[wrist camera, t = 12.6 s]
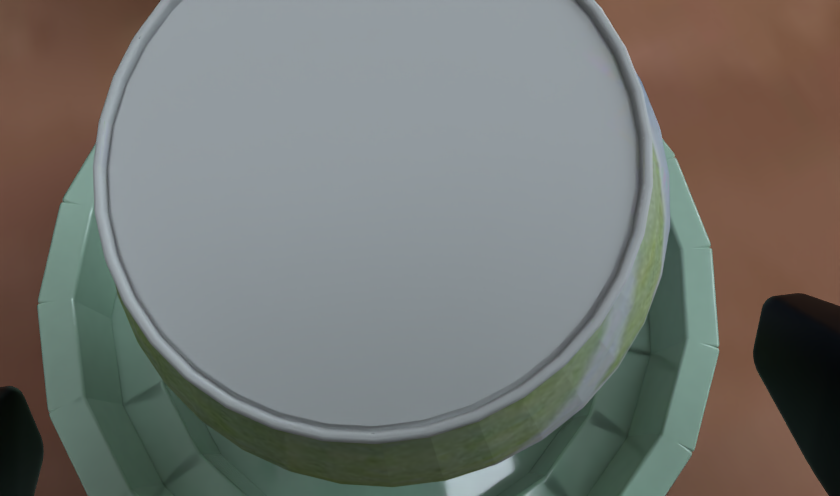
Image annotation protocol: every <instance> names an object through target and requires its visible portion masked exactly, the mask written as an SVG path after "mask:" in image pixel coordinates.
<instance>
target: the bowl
mask: <svg viewBox="0 0 840 496" xmlns="http://www.w3.org/2000/svg"><path fill="white" fill-rule="evenodd" d="M662 141H663V146H664V151H665V156H666V161H667V166H668V171H669V180H670V230H669V236H668V242H667V248H666V254H665V260H664V266H663V272H662V276H661V279H660V282H659V285H658V287H657V290H656V293H655V296H654V298H653V301H652V304H651V306H650V309H649V312H648V315H647V317H646V320H645V323H644V325H643V326H642V328H641V330H640V331H639V333H638V335H637V337H636V338H635V340H634V342H633V343H632V345H631V347H630V348H629V350H628V352H627V353H626V355H625V357H624V358H623V360H622V362H621V364H620V365H619V367H618V369H617V370H616V371H615V372H614V373H613V374H612V375H611V377H610V378H609V379H608V380H607V381H606V382H605V383H604V385H603V386H602V387H601V388H600V389H599V390H598V391H597V393H596V394H595V395H594V396H593V397H592V398H591V399H590V401H589V402H588V403H587V404H586V405H585V406H584V407H583V408H582V409H581V410H580V411H578V412H577V413H576V414H575V415H573V416H572V417H571V418H570V419H568V420H567V421H566V422H565V423H563V424H562V425H561V426H560V427H558V428H557V429H556V430H554V431H553V432H552V433H551V434H549V435H548V436H547V437H546V438H544V439H543V440H542V441H540V442H538V443H536V444H534V445H532V446H530V447H528V448H527V449H525V450H523V451H521V452H519V453H517V454H515V455H513V456H511V457H510V458H508V459H506V460H504V461H502V462H500V463H498V464H496V465H494V466H490V467H487V468H484V469H481V470H478V471H475V472H471V473H468V474H465V475H462V476H459V477H456V478H452V479H449V480H446V481H439V482H431V483H423V484H415V485H407V486H399V487H382V486H365V485H348V484H339V483H335V482H331V481H327V480H323V479H319V478H315V477H311V476H307V475H302V474H298V473H294V472H290V471H288V470H286V469H283V468H281V467H279V466H277V465H275V464H272V463H270V462H268V461H266V460H264V459H262V458H259V457H257V456H255V455H253V454H251V453H248V452H246V451H244V450H242V449H241V448H239V447H238V446H236V445H235V444H234V443H232V442H231V441H229V440H228V439H226V438H225V437H224V436H222V435H221V434H219V433H218V432H217V431H215V430H214V429H212V428H211V427H209V426H208V425H207V424H205V423H204V422H202V421H201V420H200V419H199V418H198V417H197V416H196V415H195V414H194V413H193V412H192V411H191V410H190V409H189V408H188V407H187V406H186V405H185V404H184V403H183V402H182V400H181V399H180V398H179V397H178V396H177V395H176V394H175V393H174V392H173V391H172V390H171V389H170V388H169V387H168V386H167V385H166V384H165V383H164V381H163V380H162V378H161V377H160V375H159V374H158V372H157V371H156V369H155V368H154V366H153V365H152V363H151V362H150V360H149V359H148V357H147V356H146V354H145V353H144V351H143V350H142V348H141V347H140V345H139V344H138V342H137V340H136V337H135V335H134V333H133V330H132V328H131V326H130V323H129V321H128V318H127V316H126V314H125V311H124V309H123V307H122V304H121V302H120V300H119V297H118V295H117V290H116V286H115V282H114V280H113V278H112V275H111V273H110V270H109V268H108V266H107V263H106V261H105V258H104V254H103V249H102V245H101V240H100V236H99V231H98V227H97V222H96V218H95V211H94V186H93V162H94V154H95V147H96V144H95V145H94V147H93V149H92V150H91V152H90V154H89V155H88V157H87V159H86V160H85V162H84V164H83V165H82V167H81V169H80V170H79V172H78V174H77V175H76V177H75V179H74V180H73V182H72V184H71V185H70V187H69V189H68V191H67V192H66V194H65V196H64V197H63V202H62V203H61V204H60V207H59V211H58V216H57V220H56V224H55V229H54V233H53V237H52V242H51V246H50V250H49V255H48V259H47V263H46V268H45V272H44V276H43V281H42V285H41V289H40V294H39V298H38V303H39V304H38V305H37V310H38V319H39V329H40V339H41V348H42V358H43V368H44V377H45V387H46V397H47V406H48V411H49V412H50V413H49V416H50V418H51V420H52V422H53V425H54V427H55V429H56V431H57V433H58V435H59V437H60V439H61V441H62V443H63V445H64V447H65V450H66V452H67V454H68V456H69V458H70V460H71V462H72V464H73V466H74V468H75V470H76V472H77V474H78V477H79V479H80V481H81V483H82V485H83V487H84V489H85V491H86V493H87V495H88V496H666V494H667V493H668V491H669V489H670V488H671V486H672V485H673V483H674V482H675V480H676V479H677V477H678V476H679V474H680V473H681V471H682V470H683V468H684V467H685V465H686V463H687V462H688V460H689V459H690V457H691V455H692V452H693V451H694V450H695V446H696V442H697V438H698V434H699V430H700V426H701V422H702V418H703V414H704V410H705V406H706V402H707V398H708V394H709V390H710V386H711V382H712V378H713V374H714V370H715V366H716V362H717V358H718V354H719V349H718V347H719V336H718V322H717V309H716V295H715V282H714V268H713V255H712V249H711V248H709V247H710V246H711V243H710V241H709V238H708V236H707V233H706V231H705V228H704V226H703V223H702V221H701V218H700V216H699V213H698V211H697V208H696V206H695V203H694V201H693V198H692V196H691V193H690V191H689V188H688V186H687V183H686V181H685V178H684V176H683V173H682V171H681V168H680V166H679V163H678V161H677V159H676V158H674V157H675V154H674V153H673V151H672V150H671V149H670V148H669V146H668V145H667V144H666V143H665V141H664V140H663V139H662Z"/></svg>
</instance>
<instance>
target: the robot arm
mask: <svg viewBox="0 0 840 496" xmlns="http://www.w3.org/2000/svg"><path fill="white" fill-rule="evenodd" d="M753 358H754V363H755V366H756V369H757V371H758V373H759V375H760V377H761V379H762V380H763V382H764V384H765V386H766V388H767V389H768V391H769V393H770V395H771V397H772V399H773V400H774V402H775V404H776V406H777V408H778V410H779V411H780V413H781V415H782V417H783V419H784V421H785V422H786V424H787V426H788V428H789V430H790V431H791V433H792V435H793V437H794V439H795V441H796V442H797V444H798V446H799V448H800V450H801V452H802V453H803V455H804V457H805V459H806V460H807V462H808V464H809V465H810V467H811V469H812V470H813V472H814V474H815V475H816V477H817V478H818V480H819V481H820V483H821V484H822V486H823V488H824V489H825V491H826V492H827V494H828V495H829V496H840V306H838V305H835V304H832V303H829V302H826V301H823V300H820V299H818V298H815V297H812V296H809V295H806V294H800V293H796V294H788V295H779V296H772V297H770V298H769V299H767V300H766V301H765V303H764V304H763V307H762V311H761V316H760V321H759V325H758V330H757V335H756V339H755V344H754V350H753ZM43 453H44V450H43V442H42V438H41V435H40V433H39V431H38V428H37V426H36V423H35V421H34V419H33V416H32V414H31V411H30V409H29V407H28V404H27V402H26V400H25V397H24V395H23V394H22V392H21V391H20V390H19V389H18V388H15V387H13V386H6V387H0V496H34V493H35V489H36V485H37V481H38V477H39V473H40V469H41V466H42V461H43Z"/></svg>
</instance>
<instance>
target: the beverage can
mask: <svg viewBox="0 0 840 496" xmlns="http://www.w3.org/2000/svg"><path fill="white" fill-rule="evenodd" d="M93 186H94V211H95V218H96V222H97V227H98V231H99V236H100V240H101V245H102V249H103V254H104V258H105V261H106V263H107V266H108V268H109V270H110V273H111V275H112V278H113V280H114V282H115V286H116V290H117V295H118V297H119V300H120V302H121V304H122V307H123V309H124V311H125V314H126V316H127V318H128V321H129V323H130V326H131V328H132V330H133V333H134V335H135V337H136V340H137V342H138V344H139V345H140V347H141V348H142V350H143V351H144V353H145V354H146V356H147V357H148V359H149V360H150V362H151V363H152V365H153V366H154V368H155V369H156V371H157V372H158V374H159V375H160V377H161V378H162V380H163V381H164V383H165V384H166V385H167V386H168V387H169V388H170V389H171V390H172V391H173V392H174V393H175V394H176V395H177V396H178V397H179V398H180V399H181V400H182V402H183V403H184V404H185V405H186V406H187V407H188V408H189V409H190V410H191V411H192V412H193V413H194V414H195V415H196V416H197V417H198V418H199V419H200V420H201V421H202V422H204V423H205V424H207V425H208V426H209V427H211V428H212V429H214V430H215V431H217V432H218V433H219V434H221V435H222V436H224V437H225V438H226V439H228V440H229V441H231V442H232V443H234V444H235V445H236V446H238V447H239V448H241V449H242V450H244V451H246V452H248V453H251V454H253V455H255V456H257V457H259V458H262V459H264V460H266V461H268V462H270V463H272V464H275V465H277V466H279V467H281V468H283V469H286V470H288V471H290V472H294V473H298V474H302V475H307V476H311V477H315V478H319V479H323V480H327V481H331V482H335V483H339V484H348V485H365V486H382V487H399V486H407V485H415V484H423V483H431V482H439V481H446V480H449V479H452V478H456V477H459V476H462V475H465V474H468V473H471V472H475V471H478V470H481V469H484V468H487V467H490V466H494V465H496V464H498V463H500V462H502V461H504V460H506V459H508V458H510V457H511V456H513V455H515V454H517V453H519V452H521V451H523V450H525V449H527V448H528V447H530V446H532V445H534V444H536V443H538V442H540V441H542V440H543V439H544V438H546V437H547V436H548V435H549V434H551V433H552V432H553V431H554V430H556V429H557V428H558V427H560V426H561V425H562V424H563V423H565V422H566V421H567V420H568V419H570V418H571V417H572V416H573V415H575V414H576V413H577V412H578V411H580V410H581V409H582V408H583V407H584V406H585V405H586V404H587V403H588V402H589V401H590V399H591V398H592V397H593V396H594V395H595V394H596V393H597V391H598V390H599V389H600V388H601V387H602V386H603V385H604V383H605V382H606V381H607V380H608V379H609V378H610V377H611V375H612V374H613V373H614V372H615V371H616V370H617V369H618V367H619V365H620V364H621V362H622V360H623V358H624V357H625V355H626V353H627V352H628V350H629V348H630V347H631V345H632V343H633V342H634V340H635V338H636V337H637V335H638V333H639V331H640V330H641V328H642V326H643V325H644V323H645V320H646V317H647V315H648V312H649V309H650V306H651V304H652V301H653V298H654V296H655V293H656V290H657V287H658V285H659V282H660V279H661V276H662V272H663V266H664V260H665V254H666V248H667V242H668V236H669V230H670V180H669V171H668V166H667V161H666V156H665V151H664V146H663V141H662V136H661V131H660V127H659V124H658V122H657V119H656V117H655V114H654V112H653V109H652V107H651V104H650V102H649V99H648V97H647V94H646V92H645V89H644V87H643V84H642V82H641V80H640V78H639V77H638V75H637V73H636V72H635V69H634V67H633V64H632V62H631V59H630V57H629V54H628V52H627V49H626V47H625V45H624V44H623V42H622V40H621V39H620V37H619V36H618V34H617V32H616V31H615V29H614V28H613V26H612V24H611V23H610V21H609V20H608V18H607V16H606V15H605V13H604V12H603V10H602V8H601V7H600V6H599V5H598V4H597V3H596V2H595V0H161V1H160V2H159V4H158V5H157V6H156V8H155V9H154V10H153V12H152V13H151V14H150V16H149V17H148V18H147V20H146V21H145V22H144V24H143V25H142V27H141V28H140V29H139V31H138V32H137V33H136V35H135V36H134V38H133V40H132V42H131V43H130V45H129V47H128V49H127V51H126V53H125V55H124V57H123V59H122V61H121V63H120V65H119V67H118V69H117V71H116V73H115V74H114V76H113V79H112V82H111V85H110V88H109V92H108V95H107V98H106V101H105V104H104V107H103V110H102V114H101V117H100V120H99V125H98V133H97V140H96V147H95V154H94V162H93Z"/></svg>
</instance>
